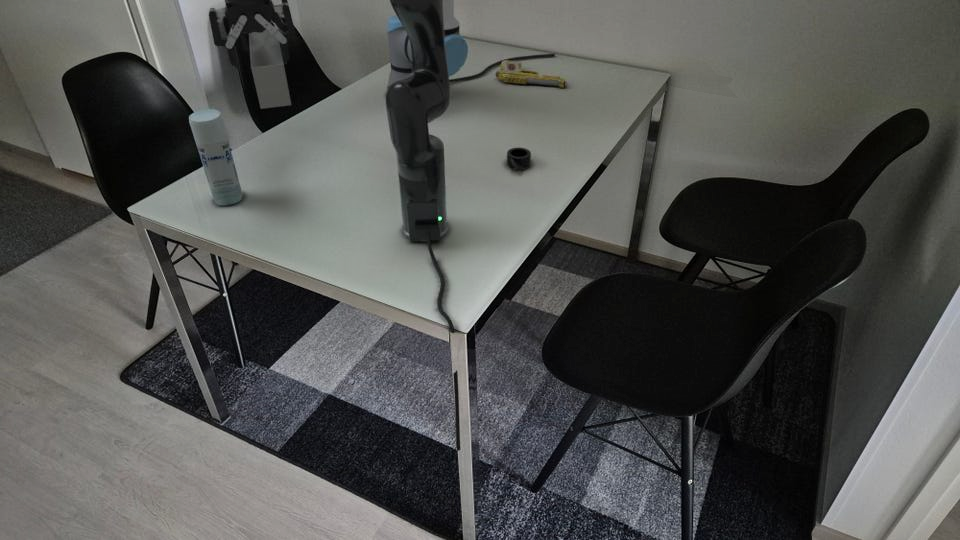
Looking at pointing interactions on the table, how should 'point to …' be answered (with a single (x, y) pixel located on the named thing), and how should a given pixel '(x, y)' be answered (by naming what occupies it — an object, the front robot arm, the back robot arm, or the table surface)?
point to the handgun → (526, 75)
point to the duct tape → (518, 158)
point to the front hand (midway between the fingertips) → (261, 64)
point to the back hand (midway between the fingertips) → (269, 62)
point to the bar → (268, 70)
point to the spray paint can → (216, 156)
